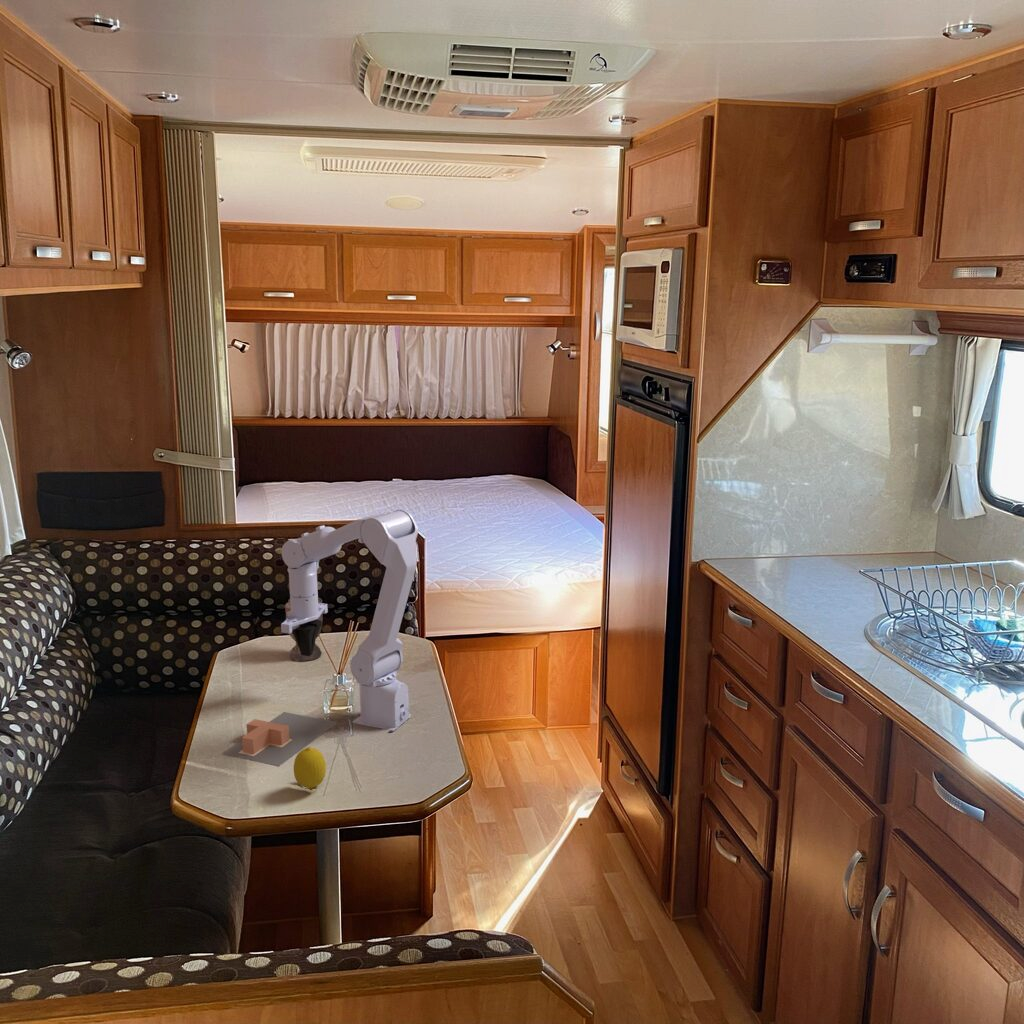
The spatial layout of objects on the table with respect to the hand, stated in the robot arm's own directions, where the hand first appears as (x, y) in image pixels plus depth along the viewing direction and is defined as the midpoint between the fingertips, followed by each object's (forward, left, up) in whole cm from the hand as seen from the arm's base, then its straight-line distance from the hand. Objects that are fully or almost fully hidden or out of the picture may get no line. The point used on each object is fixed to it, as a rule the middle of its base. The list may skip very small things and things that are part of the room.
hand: (306, 654), depth 207 cm
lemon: (-22, +33, -10) cm, 41 cm away
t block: (-5, +23, -9) cm, 25 cm away
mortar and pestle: (+16, -22, -10) cm, 29 cm away
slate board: (-6, +19, -10) cm, 22 cm away
